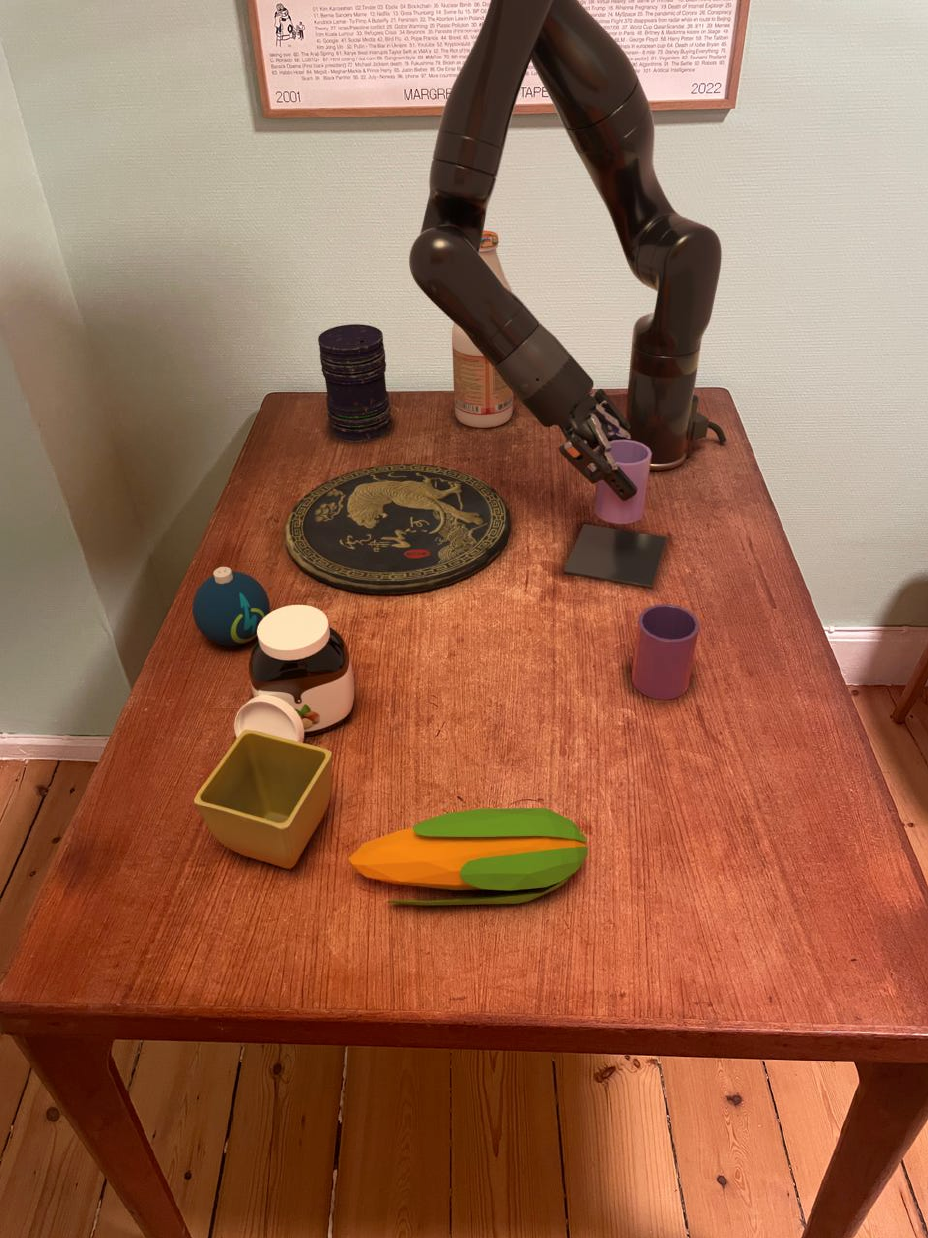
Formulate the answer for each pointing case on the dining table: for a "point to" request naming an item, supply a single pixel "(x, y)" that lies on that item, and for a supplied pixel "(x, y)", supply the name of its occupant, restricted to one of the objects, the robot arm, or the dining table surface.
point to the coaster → (616, 556)
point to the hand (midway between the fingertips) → (636, 481)
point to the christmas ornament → (230, 607)
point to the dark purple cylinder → (355, 382)
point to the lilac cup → (637, 468)
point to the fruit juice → (480, 365)
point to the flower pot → (267, 797)
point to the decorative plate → (397, 529)
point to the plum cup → (664, 651)
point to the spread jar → (297, 676)
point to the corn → (478, 854)
